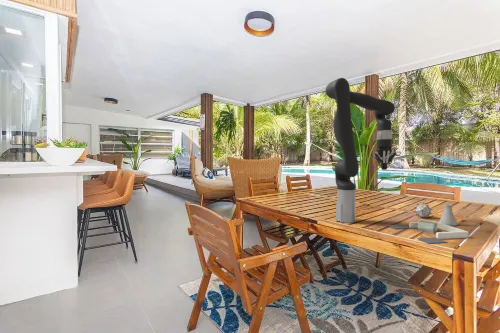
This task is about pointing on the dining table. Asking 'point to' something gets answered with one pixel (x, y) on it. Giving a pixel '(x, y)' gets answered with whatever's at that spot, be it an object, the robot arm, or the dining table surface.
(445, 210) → the flask
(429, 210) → the game die
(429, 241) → the mats
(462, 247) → the dining table surface
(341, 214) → the robot arm
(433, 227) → the sage block
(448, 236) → the grey u-shaped bracket
